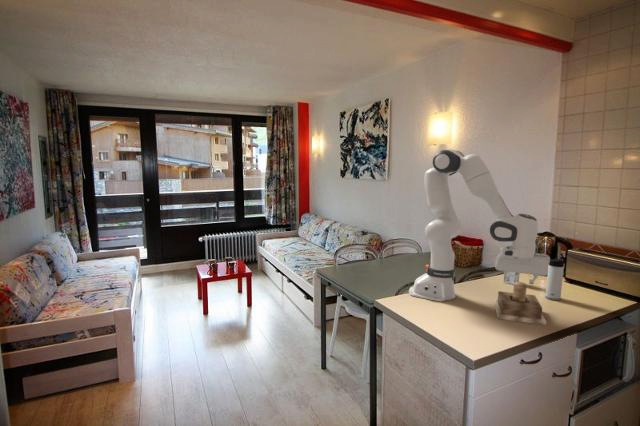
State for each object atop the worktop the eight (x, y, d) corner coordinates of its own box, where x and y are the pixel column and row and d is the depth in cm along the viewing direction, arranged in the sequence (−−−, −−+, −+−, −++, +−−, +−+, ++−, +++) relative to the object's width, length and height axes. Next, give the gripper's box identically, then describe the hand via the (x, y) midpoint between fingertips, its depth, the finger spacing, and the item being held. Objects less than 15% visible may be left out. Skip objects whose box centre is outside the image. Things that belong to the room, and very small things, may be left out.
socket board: (497, 318, 157) (498, 304, 156) (493, 302, 174) (494, 289, 173) (545, 324, 151) (547, 310, 150) (536, 308, 168) (538, 294, 167)
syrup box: (508, 280, 206) (510, 255, 204) (519, 283, 201) (521, 257, 199) (503, 282, 202) (505, 257, 200) (514, 285, 198) (516, 259, 195)
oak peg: (512, 311, 161) (514, 285, 159) (510, 306, 166) (512, 281, 164) (525, 313, 159) (528, 286, 157) (523, 308, 164) (525, 282, 162)
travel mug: (554, 301, 176) (558, 261, 173) (542, 296, 182) (546, 257, 179) (564, 300, 177) (568, 260, 174) (552, 295, 184) (556, 256, 181)
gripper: (548, 252, 158) (544, 283, 160) (496, 247, 165) (493, 276, 167) (552, 256, 152) (548, 288, 155) (498, 250, 159) (494, 281, 161)
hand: (519, 282), depth 161 cm, fingers open, 8 cm apart
